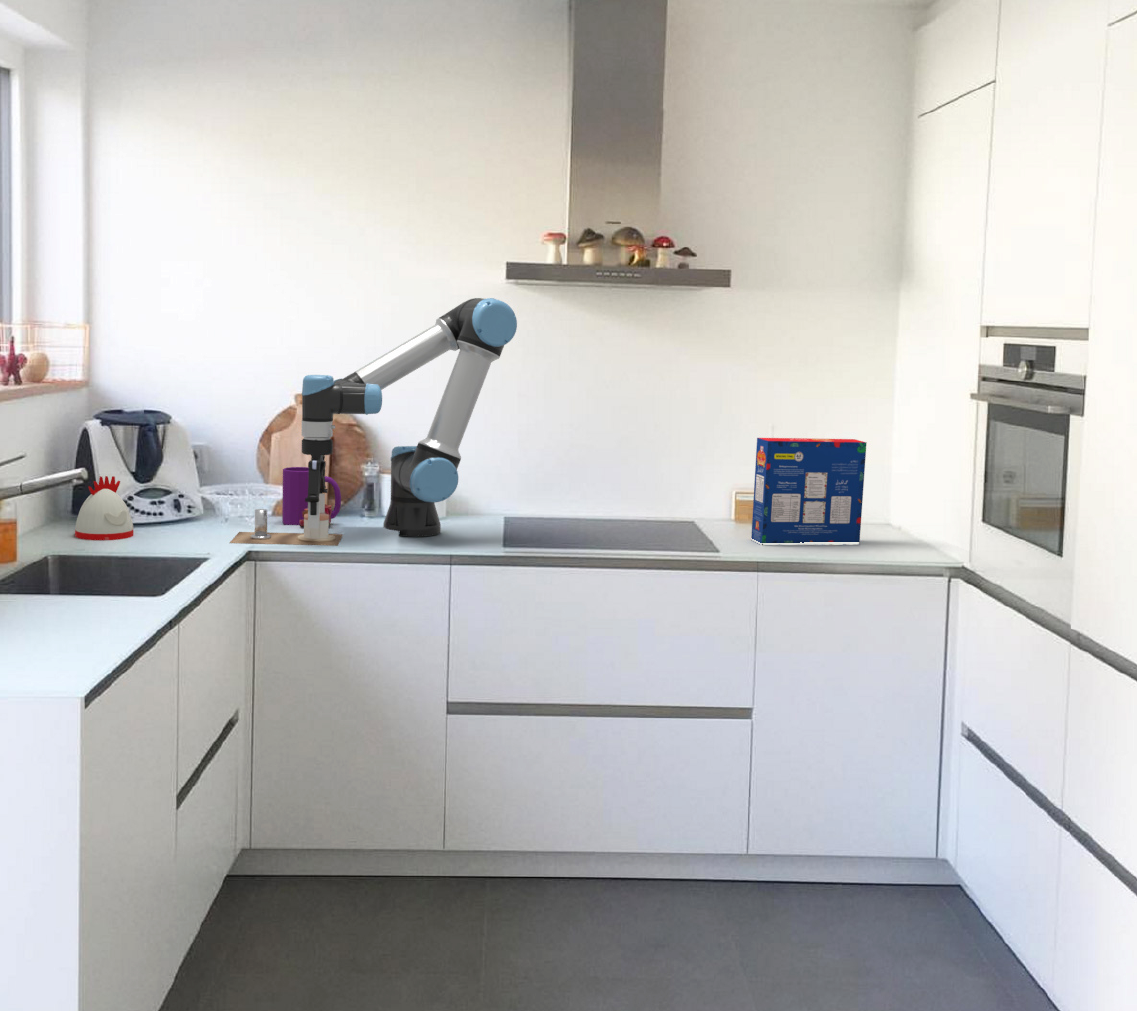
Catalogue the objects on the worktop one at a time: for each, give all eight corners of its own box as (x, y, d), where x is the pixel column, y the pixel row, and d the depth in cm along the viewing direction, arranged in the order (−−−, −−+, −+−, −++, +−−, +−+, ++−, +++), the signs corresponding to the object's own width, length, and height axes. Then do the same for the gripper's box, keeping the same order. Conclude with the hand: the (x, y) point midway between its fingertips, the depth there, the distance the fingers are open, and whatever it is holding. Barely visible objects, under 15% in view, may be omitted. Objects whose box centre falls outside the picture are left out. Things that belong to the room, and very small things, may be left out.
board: (343, 540, 356) (343, 534, 355) (337, 551, 340) (337, 545, 340) (239, 537, 353) (239, 531, 353) (229, 549, 338) (229, 543, 337)
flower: (346, 526, 366) (335, 499, 369) (326, 523, 358) (315, 496, 360) (318, 543, 370) (307, 517, 372) (298, 541, 361) (287, 514, 363)
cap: (327, 539, 344) (327, 517, 343) (302, 538, 344) (302, 516, 343) (329, 535, 350) (329, 513, 349) (305, 534, 350) (305, 512, 349)
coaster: (336, 536, 352) (336, 534, 352) (332, 542, 343) (332, 540, 343) (299, 535, 351) (299, 533, 351) (295, 541, 342) (295, 539, 342)
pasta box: (847, 540, 385) (853, 439, 381) (859, 545, 378) (866, 442, 374) (751, 540, 379) (757, 437, 375) (761, 545, 371) (767, 440, 367)
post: (272, 536, 349) (272, 508, 348) (269, 539, 344) (270, 511, 343) (252, 535, 348) (252, 508, 347) (249, 539, 343) (249, 511, 342)
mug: (283, 521, 381) (284, 466, 379) (341, 522, 383) (342, 467, 381) (280, 526, 372) (281, 470, 370) (340, 527, 374) (340, 472, 372)
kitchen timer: (143, 537, 350) (143, 477, 348) (92, 542, 340) (91, 481, 338) (115, 529, 359) (115, 471, 357) (64, 534, 349) (64, 474, 347)
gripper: (328, 444, 331) (327, 532, 335) (336, 433, 356) (335, 515, 359) (296, 443, 331) (295, 531, 334) (307, 432, 355) (306, 515, 358)
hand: (316, 523), depth 346 cm, fingers open, 13 cm apart
